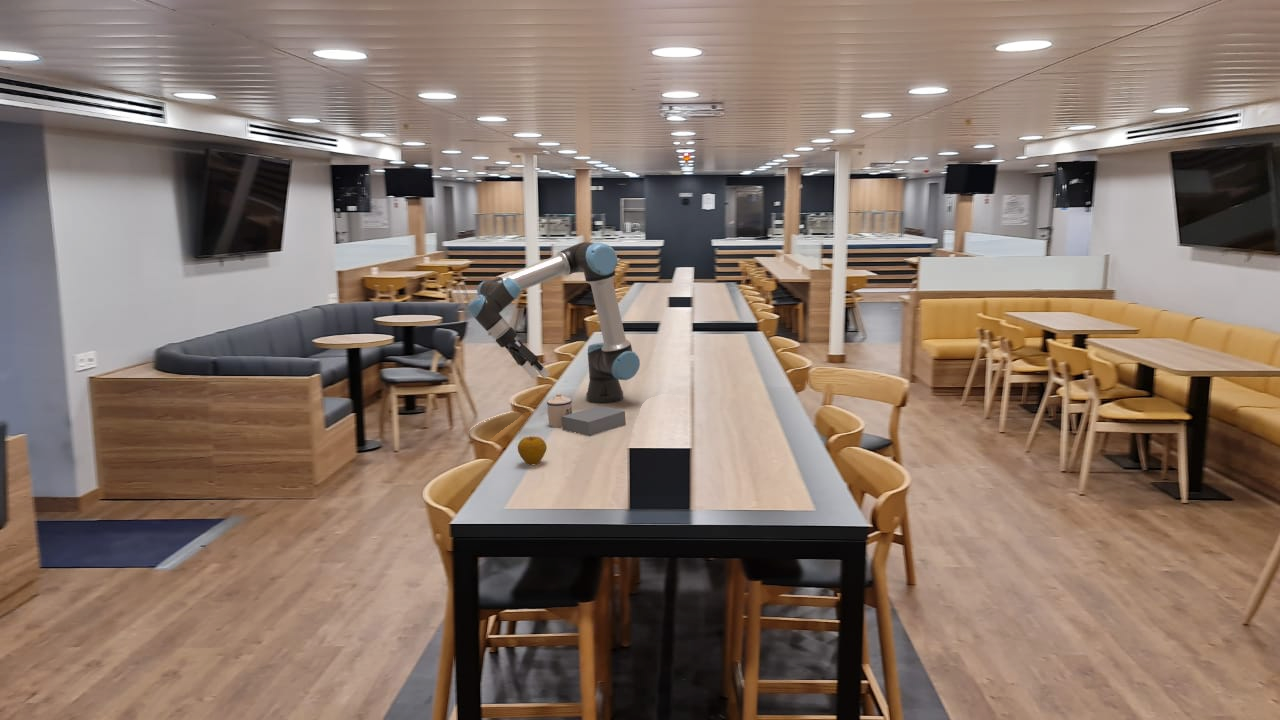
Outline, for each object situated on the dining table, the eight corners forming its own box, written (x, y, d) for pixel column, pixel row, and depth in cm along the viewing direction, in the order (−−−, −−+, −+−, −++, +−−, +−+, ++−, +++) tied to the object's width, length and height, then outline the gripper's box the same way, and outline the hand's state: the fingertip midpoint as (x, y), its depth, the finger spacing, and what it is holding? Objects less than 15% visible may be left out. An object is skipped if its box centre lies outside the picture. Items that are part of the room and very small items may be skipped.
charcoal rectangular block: (598, 418, 328) (597, 405, 327) (625, 424, 318) (624, 411, 317) (562, 429, 315) (561, 416, 314) (589, 436, 305) (588, 422, 304)
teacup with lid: (569, 428, 317) (567, 396, 315) (544, 427, 319) (542, 396, 317) (578, 419, 329) (576, 388, 326) (555, 419, 331) (553, 388, 328)
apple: (546, 458, 282) (544, 431, 281) (548, 466, 274) (546, 438, 272) (518, 460, 281) (516, 433, 279) (519, 469, 272) (517, 441, 270)
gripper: (486, 341, 325) (525, 383, 330) (503, 338, 302) (544, 383, 307) (501, 328, 327) (539, 370, 332) (519, 323, 304) (559, 368, 309)
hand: (541, 376), depth 320 cm, fingers open, 13 cm apart
